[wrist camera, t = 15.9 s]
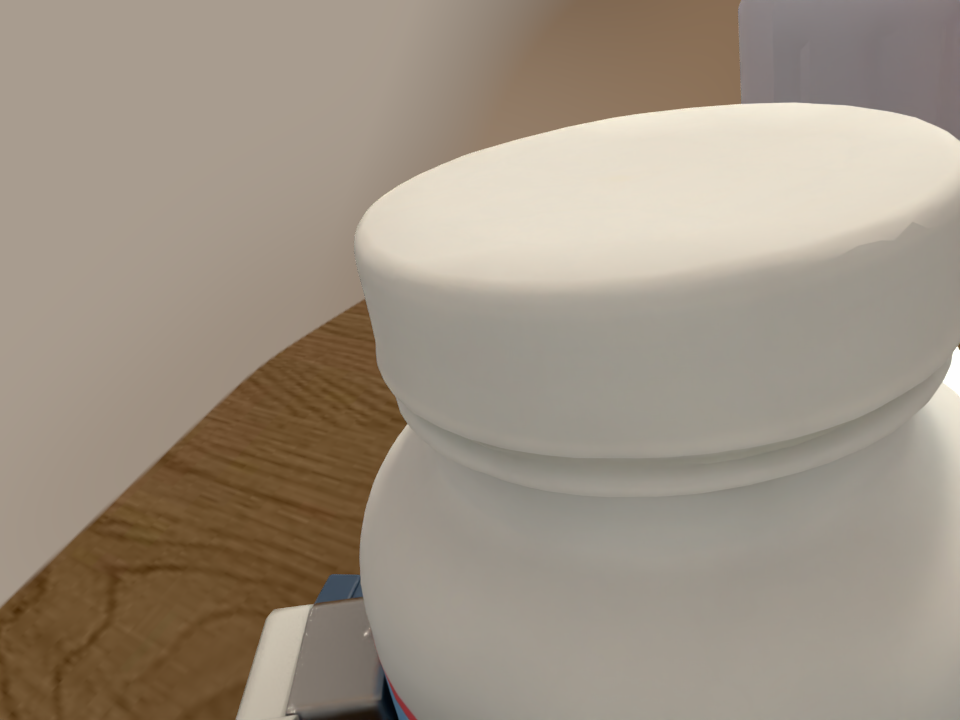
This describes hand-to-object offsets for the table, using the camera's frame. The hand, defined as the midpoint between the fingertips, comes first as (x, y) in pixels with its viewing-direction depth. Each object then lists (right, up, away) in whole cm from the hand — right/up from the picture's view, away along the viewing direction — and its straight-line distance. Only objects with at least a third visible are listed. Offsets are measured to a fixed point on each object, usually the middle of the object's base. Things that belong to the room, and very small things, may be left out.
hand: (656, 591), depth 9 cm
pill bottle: (+1, -6, +2) cm, 6 cm away
